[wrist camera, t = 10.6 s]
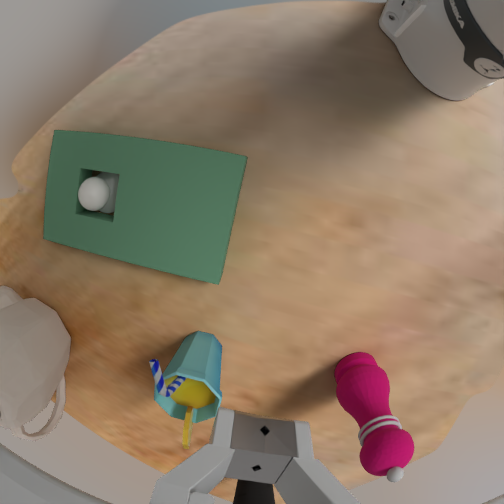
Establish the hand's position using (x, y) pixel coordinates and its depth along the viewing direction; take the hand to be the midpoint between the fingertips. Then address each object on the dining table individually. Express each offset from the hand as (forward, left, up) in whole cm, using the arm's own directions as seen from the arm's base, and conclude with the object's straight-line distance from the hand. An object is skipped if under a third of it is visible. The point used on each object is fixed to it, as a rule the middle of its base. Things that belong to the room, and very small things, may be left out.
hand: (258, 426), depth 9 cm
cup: (+16, -5, -27) cm, 32 cm away
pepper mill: (+16, +17, -27) cm, 36 cm away
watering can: (+22, -32, -27) cm, 47 cm away
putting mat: (-1, -16, -27) cm, 31 cm away
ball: (-1, -20, -25) cm, 32 cm away
